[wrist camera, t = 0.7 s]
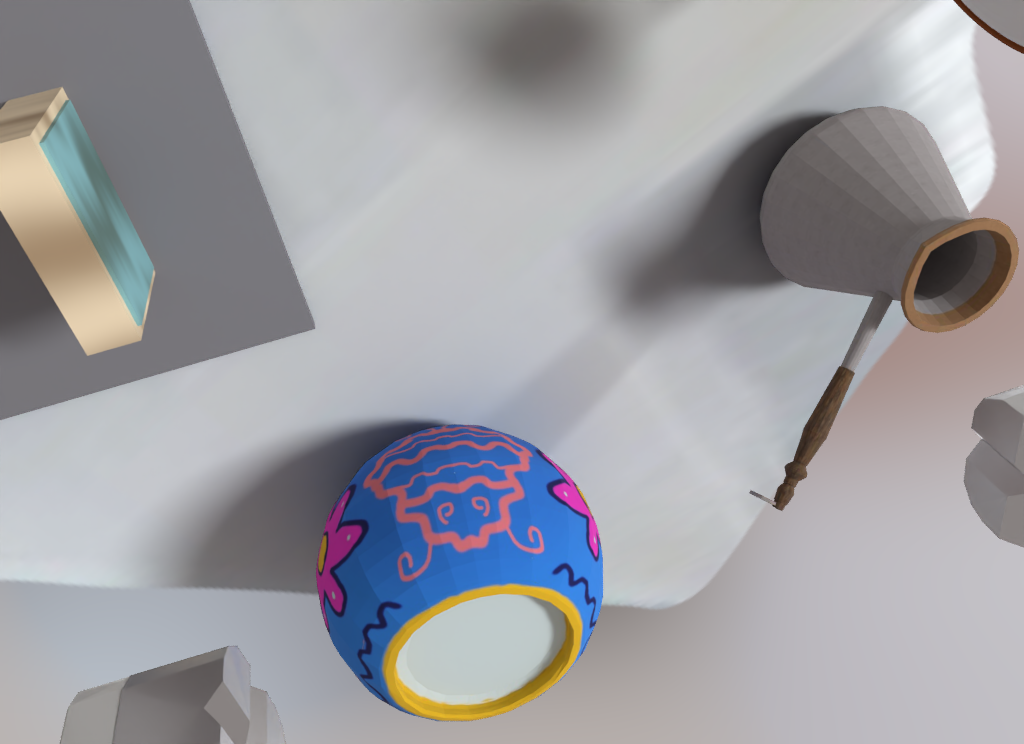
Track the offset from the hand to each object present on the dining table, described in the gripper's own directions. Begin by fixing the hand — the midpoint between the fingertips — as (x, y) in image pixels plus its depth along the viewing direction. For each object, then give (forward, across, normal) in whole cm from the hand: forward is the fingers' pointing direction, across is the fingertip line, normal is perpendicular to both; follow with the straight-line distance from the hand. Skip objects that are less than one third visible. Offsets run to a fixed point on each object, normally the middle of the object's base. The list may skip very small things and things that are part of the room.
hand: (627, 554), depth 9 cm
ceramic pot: (+39, +3, +32) cm, 51 cm away
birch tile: (+38, +15, +6) cm, 41 cm away
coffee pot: (+39, -22, +21) cm, 49 cm away
